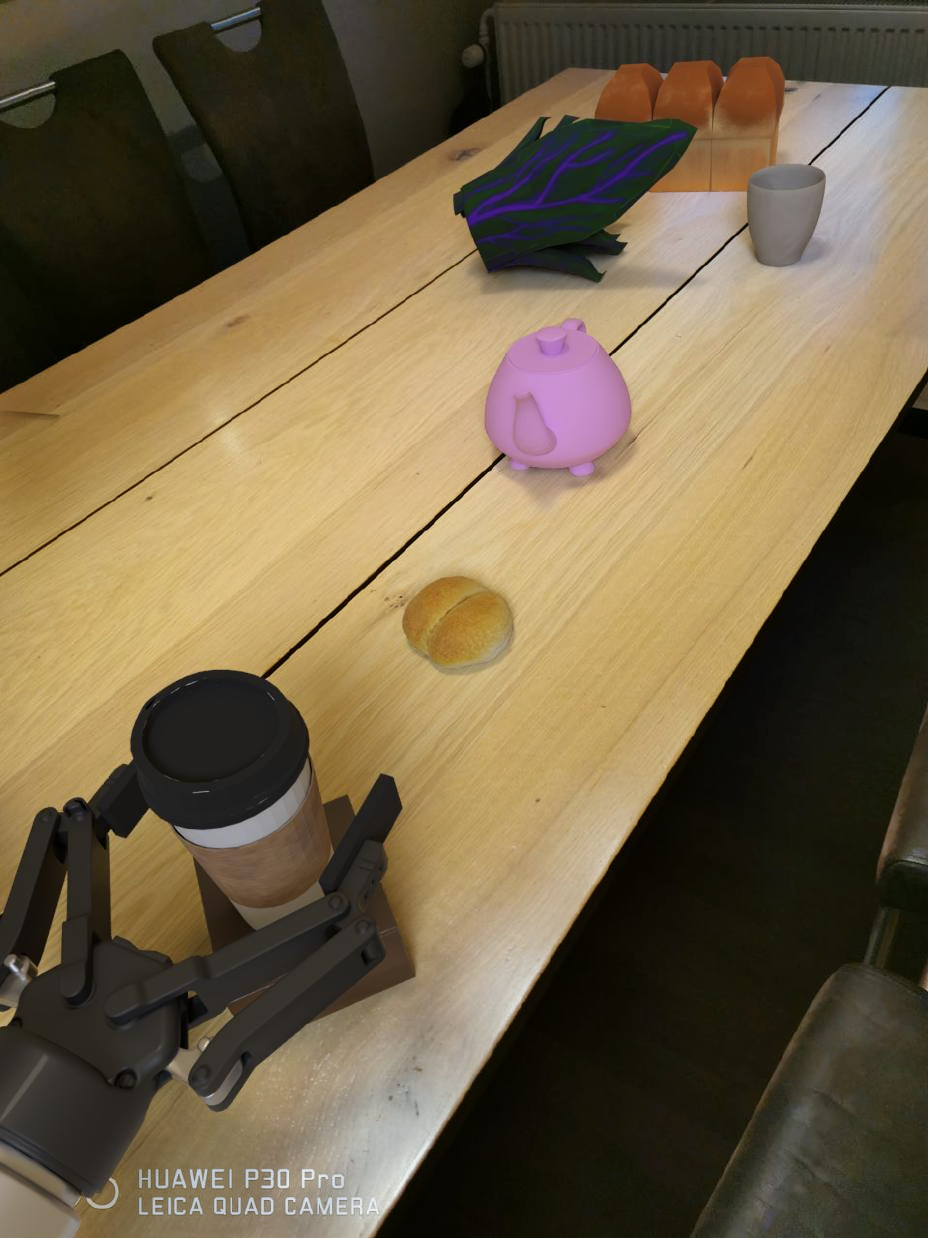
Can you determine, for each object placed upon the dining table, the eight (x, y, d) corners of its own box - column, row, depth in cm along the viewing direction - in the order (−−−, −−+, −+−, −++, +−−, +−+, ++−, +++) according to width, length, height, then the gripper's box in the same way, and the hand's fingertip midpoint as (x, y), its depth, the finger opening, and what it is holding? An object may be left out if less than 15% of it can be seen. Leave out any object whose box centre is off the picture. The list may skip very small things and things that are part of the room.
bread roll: (462, 688, 73) (455, 652, 70) (390, 635, 78) (381, 600, 76) (538, 630, 76) (533, 594, 74) (464, 583, 82) (457, 547, 79)
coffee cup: (272, 811, 59) (194, 642, 49) (388, 854, 56) (330, 682, 46) (189, 927, 54) (83, 764, 44) (311, 982, 51) (226, 819, 41)
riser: (222, 906, 62) (192, 855, 58) (366, 847, 64) (347, 793, 60) (254, 1048, 55) (222, 1001, 51) (415, 976, 57) (397, 926, 53)
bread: (595, 193, 142) (591, 83, 132) (614, 162, 150) (611, 57, 140) (769, 191, 134) (779, 74, 124) (779, 158, 142) (789, 47, 132)
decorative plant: (510, 314, 137) (718, 237, 128) (474, 328, 114) (726, 235, 104) (462, 166, 132) (676, 74, 122) (413, 148, 108) (674, 33, 99)
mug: (817, 271, 115) (827, 188, 108) (741, 273, 117) (747, 192, 110) (815, 230, 123) (824, 151, 116) (744, 233, 125) (749, 155, 118)
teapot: (602, 522, 85) (597, 400, 77) (455, 505, 90) (435, 389, 82) (650, 403, 98) (650, 288, 90) (520, 394, 103) (508, 284, 95)
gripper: (-144, 1084, 46) (129, 748, 59) (295, 1323, 36) (501, 861, 50) (-244, 1016, 40) (79, 665, 54) (237, 1274, 31) (484, 773, 45)
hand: (282, 758), depth 52 cm, fingers open, 13 cm apart
